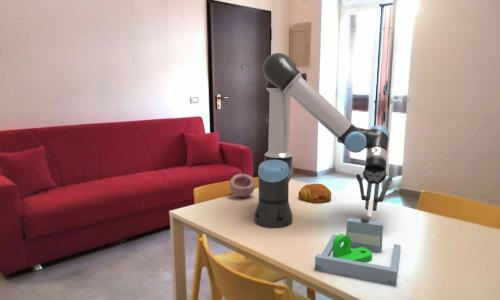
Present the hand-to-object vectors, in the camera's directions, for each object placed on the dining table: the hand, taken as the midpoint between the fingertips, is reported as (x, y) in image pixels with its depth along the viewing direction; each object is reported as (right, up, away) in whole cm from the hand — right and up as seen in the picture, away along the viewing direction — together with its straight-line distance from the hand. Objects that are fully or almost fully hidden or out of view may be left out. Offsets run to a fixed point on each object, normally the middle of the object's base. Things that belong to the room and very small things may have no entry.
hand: (369, 217), depth 130 cm
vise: (-8, -10, -15) cm, 20 cm away
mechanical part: (-10, -10, -15) cm, 21 cm away
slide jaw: (-4, -9, -7) cm, 12 cm away
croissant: (-11, 0, +45) cm, 46 cm away
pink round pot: (-45, +1, +49) cm, 67 cm away
